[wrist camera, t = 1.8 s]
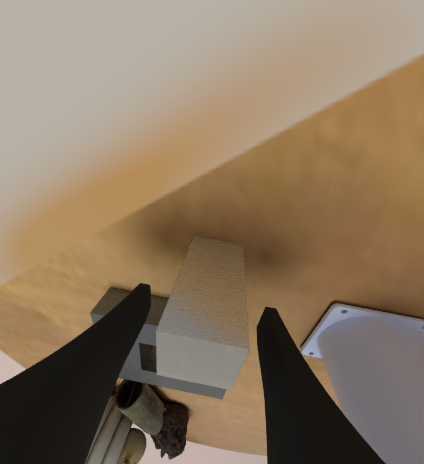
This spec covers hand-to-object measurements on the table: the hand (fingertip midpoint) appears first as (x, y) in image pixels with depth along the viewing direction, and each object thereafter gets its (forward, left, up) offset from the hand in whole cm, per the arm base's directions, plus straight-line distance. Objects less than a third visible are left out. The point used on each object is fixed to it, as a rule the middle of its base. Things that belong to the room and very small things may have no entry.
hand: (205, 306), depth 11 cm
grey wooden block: (0, 0, -5) cm, 5 cm away
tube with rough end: (+4, +32, -5) cm, 33 cm away
